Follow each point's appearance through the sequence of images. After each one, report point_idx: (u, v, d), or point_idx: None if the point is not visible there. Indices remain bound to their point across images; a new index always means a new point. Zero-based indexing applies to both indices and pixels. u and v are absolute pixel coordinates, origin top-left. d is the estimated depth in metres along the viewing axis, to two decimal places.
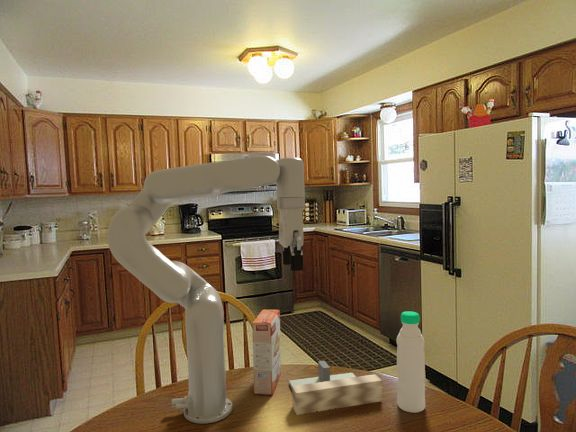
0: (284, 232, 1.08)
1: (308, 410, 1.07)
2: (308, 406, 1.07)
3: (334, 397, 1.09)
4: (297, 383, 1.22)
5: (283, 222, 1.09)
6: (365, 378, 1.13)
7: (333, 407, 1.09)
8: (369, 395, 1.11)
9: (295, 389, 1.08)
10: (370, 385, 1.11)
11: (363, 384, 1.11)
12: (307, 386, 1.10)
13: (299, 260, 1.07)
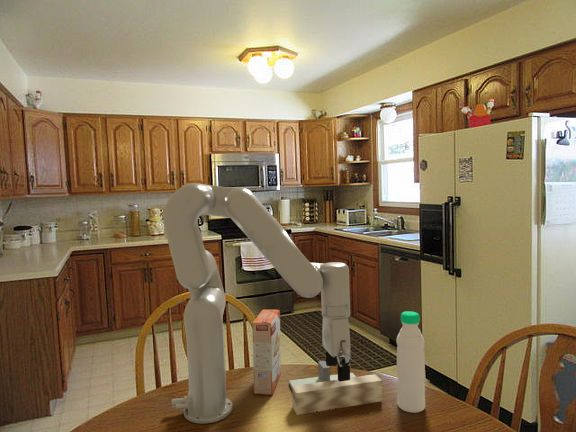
0: (330, 341, 1.06)
1: (308, 410, 1.07)
2: (308, 406, 1.07)
3: (334, 397, 1.09)
4: (297, 383, 1.22)
5: (329, 330, 1.07)
6: (365, 378, 1.13)
7: (333, 407, 1.09)
8: (369, 395, 1.11)
9: (295, 389, 1.08)
10: (370, 384, 1.11)
11: (363, 384, 1.11)
12: (307, 386, 1.10)
13: (347, 371, 1.05)
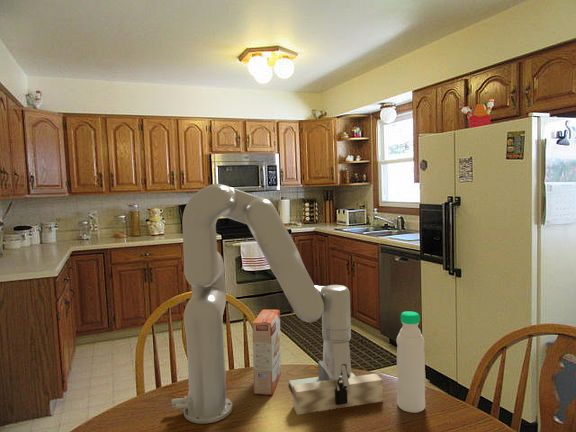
0: (331, 365, 1.07)
1: (308, 409, 1.07)
2: (308, 405, 1.07)
3: (334, 396, 1.09)
4: (297, 383, 1.22)
5: (330, 354, 1.07)
6: (366, 377, 1.13)
7: (334, 406, 1.09)
8: (370, 394, 1.11)
9: (295, 388, 1.08)
10: (371, 384, 1.11)
11: (364, 384, 1.11)
12: (308, 385, 1.10)
13: (344, 395, 1.08)
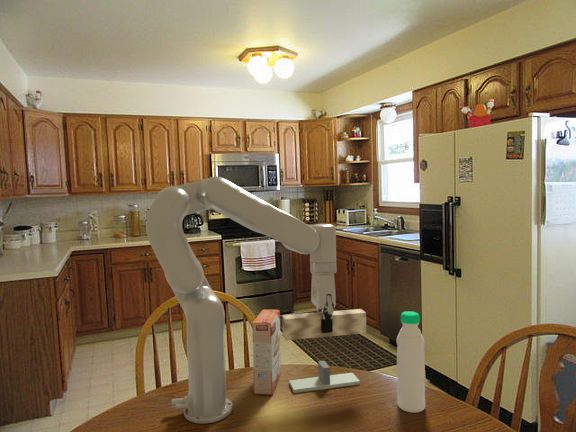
0: (317, 295, 1.16)
1: (296, 336, 1.17)
2: (296, 332, 1.16)
3: (320, 325, 1.18)
4: (297, 383, 1.22)
5: (316, 285, 1.16)
6: (351, 311, 1.22)
7: (320, 334, 1.18)
8: (354, 326, 1.20)
9: (284, 317, 1.18)
10: (355, 316, 1.20)
11: (348, 315, 1.19)
12: (296, 315, 1.19)
13: (329, 323, 1.17)
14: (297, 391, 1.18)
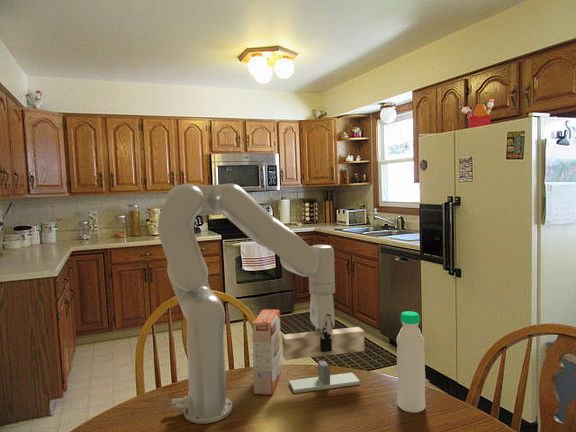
0: (317, 315, 1.18)
1: (296, 355, 1.19)
2: (296, 351, 1.19)
3: (320, 344, 1.20)
4: (297, 383, 1.22)
5: (315, 305, 1.19)
6: (349, 329, 1.24)
7: (319, 353, 1.20)
8: (353, 344, 1.22)
9: (284, 336, 1.20)
10: (353, 334, 1.22)
11: (347, 334, 1.22)
12: (296, 335, 1.21)
13: (328, 343, 1.19)
14: (297, 391, 1.18)
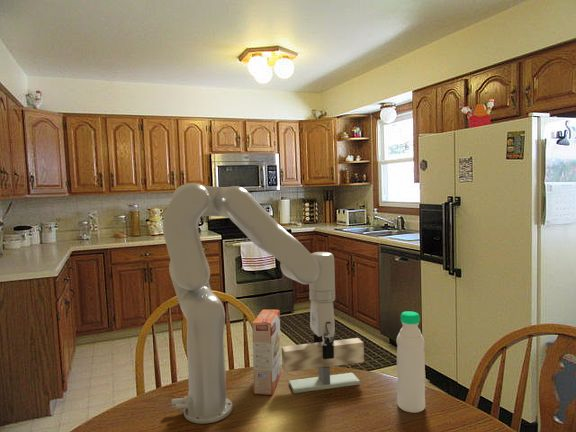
0: (317, 322, 1.18)
1: (295, 367, 1.19)
2: (295, 364, 1.19)
3: (319, 356, 1.20)
4: (297, 383, 1.22)
5: (316, 313, 1.19)
6: (349, 341, 1.24)
7: (318, 365, 1.20)
8: (352, 355, 1.22)
9: (284, 349, 1.20)
10: (353, 346, 1.22)
11: (346, 345, 1.22)
12: (295, 346, 1.21)
13: (330, 350, 1.17)
14: (297, 391, 1.18)
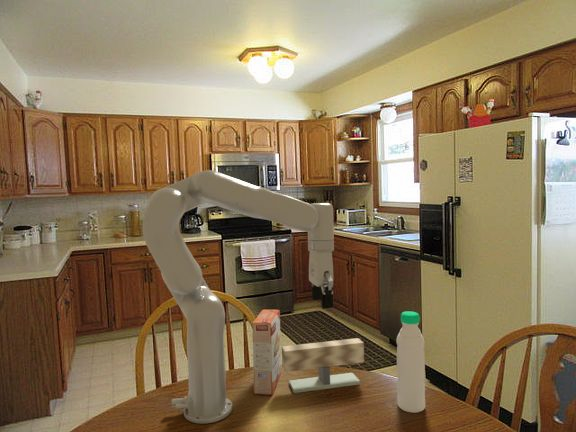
0: (315, 272, 1.17)
1: (295, 367, 1.19)
2: (295, 363, 1.19)
3: (319, 356, 1.20)
4: (297, 383, 1.22)
5: (314, 263, 1.18)
6: (349, 341, 1.24)
7: (318, 365, 1.20)
8: (352, 355, 1.22)
9: (284, 348, 1.20)
10: (353, 346, 1.22)
11: (346, 346, 1.22)
12: (295, 346, 1.21)
13: (330, 299, 1.16)
14: (297, 391, 1.18)
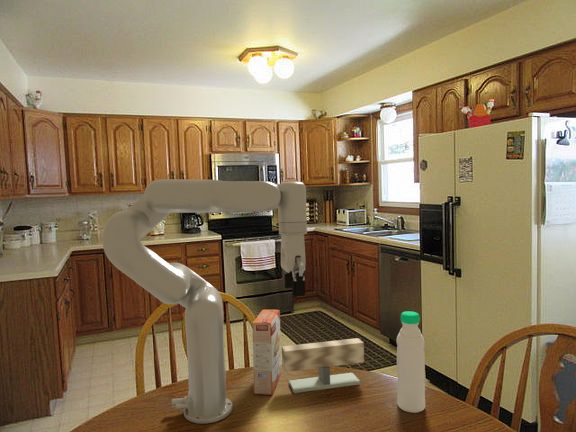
0: (286, 257, 1.07)
1: (295, 367, 1.19)
2: (295, 363, 1.19)
3: (319, 356, 1.20)
4: (297, 383, 1.22)
5: (285, 247, 1.08)
6: (349, 341, 1.24)
7: (318, 365, 1.20)
8: (352, 355, 1.22)
9: (284, 348, 1.20)
10: (353, 346, 1.22)
11: (346, 346, 1.22)
12: (295, 346, 1.21)
13: (301, 286, 1.06)
14: (297, 391, 1.18)
